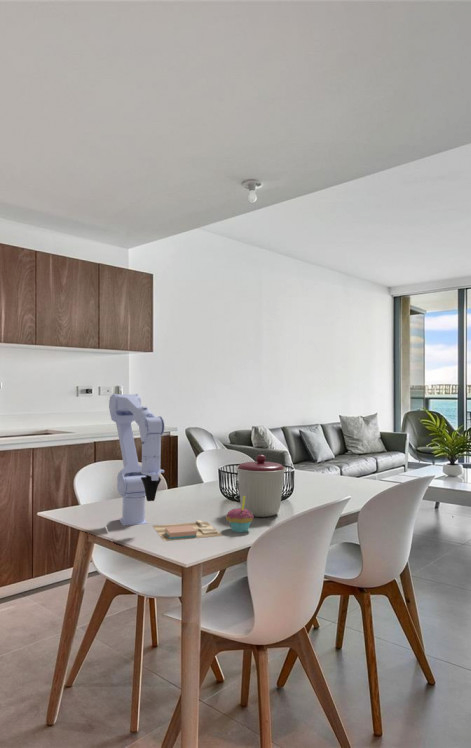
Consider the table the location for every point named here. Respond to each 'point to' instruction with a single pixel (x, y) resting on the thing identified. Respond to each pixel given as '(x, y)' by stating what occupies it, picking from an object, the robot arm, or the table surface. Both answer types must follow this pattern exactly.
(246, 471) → the canister
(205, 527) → the wooden turner
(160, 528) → the cork mat
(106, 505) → the table surface
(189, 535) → the tile
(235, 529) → the cupcake
